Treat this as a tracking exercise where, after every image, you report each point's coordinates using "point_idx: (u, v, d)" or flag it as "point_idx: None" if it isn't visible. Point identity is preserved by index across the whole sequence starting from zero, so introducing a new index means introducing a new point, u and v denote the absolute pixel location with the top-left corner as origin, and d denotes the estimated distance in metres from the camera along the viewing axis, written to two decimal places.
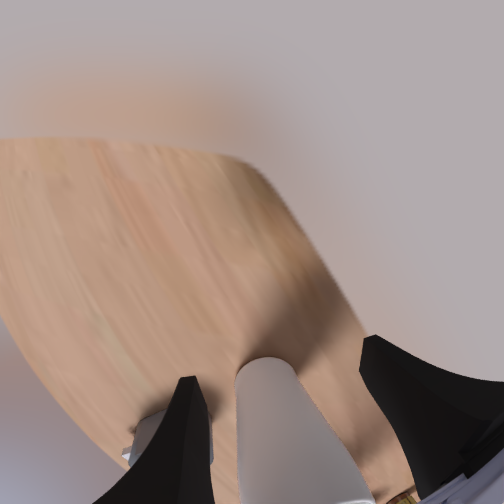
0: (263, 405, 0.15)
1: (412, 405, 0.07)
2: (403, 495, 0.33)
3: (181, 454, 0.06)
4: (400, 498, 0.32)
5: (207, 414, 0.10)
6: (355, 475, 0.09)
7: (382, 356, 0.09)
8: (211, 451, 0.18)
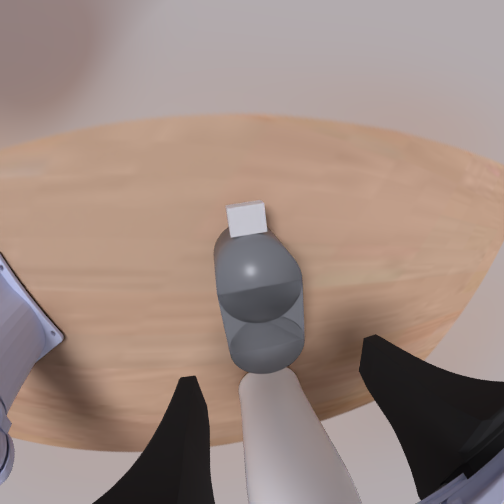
0: None
1: (412, 405, 0.07)
2: None
3: (181, 454, 0.06)
4: None
5: (207, 414, 0.10)
6: None
7: (382, 356, 0.09)
8: None
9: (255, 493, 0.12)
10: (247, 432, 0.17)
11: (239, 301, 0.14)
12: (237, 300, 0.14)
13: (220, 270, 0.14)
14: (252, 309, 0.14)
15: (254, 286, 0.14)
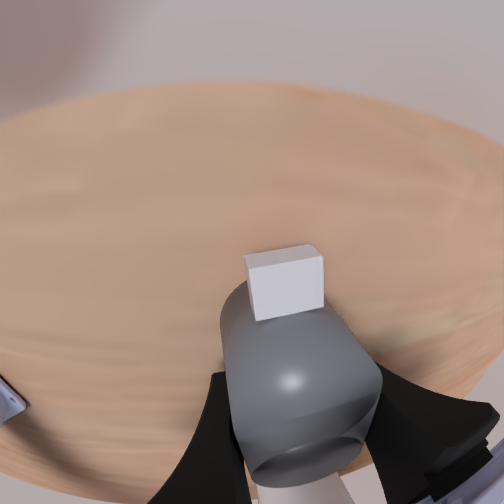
0: None
1: (380, 420, 0.07)
2: None
3: (229, 450, 0.06)
4: None
5: None
6: None
7: None
8: None
9: None
10: None
11: (273, 433, 0.07)
12: (269, 434, 0.07)
13: (239, 398, 0.06)
14: (293, 438, 0.07)
15: (301, 414, 0.07)
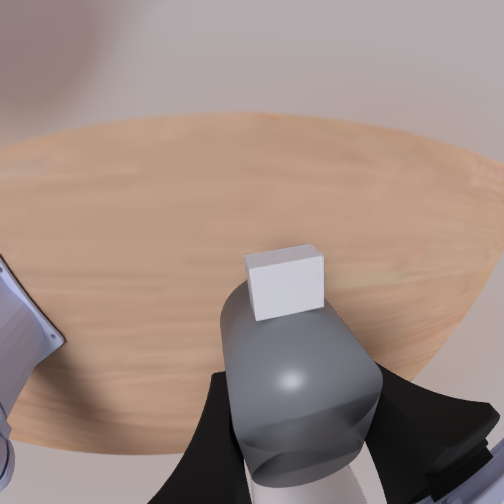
0: None
1: (380, 420, 0.07)
2: None
3: (229, 450, 0.06)
4: None
5: None
6: None
7: None
8: None
9: (261, 499, 0.11)
10: None
11: (273, 433, 0.07)
12: (269, 433, 0.07)
13: (240, 398, 0.06)
14: (293, 438, 0.07)
15: (301, 413, 0.07)
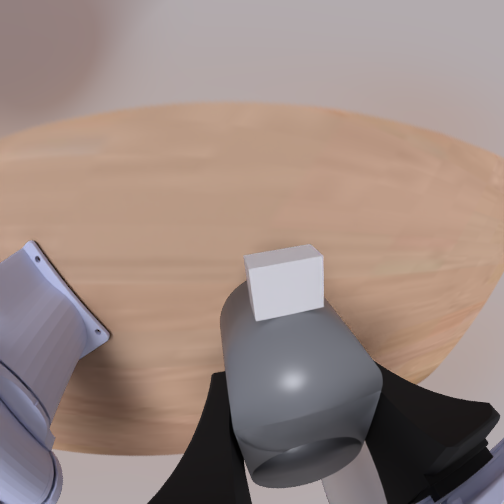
0: None
1: (380, 420, 0.07)
2: None
3: (229, 450, 0.06)
4: None
5: None
6: None
7: None
8: None
9: (338, 479, 0.12)
10: None
11: (273, 433, 0.07)
12: (269, 433, 0.07)
13: (239, 398, 0.06)
14: (293, 438, 0.07)
15: (301, 414, 0.07)
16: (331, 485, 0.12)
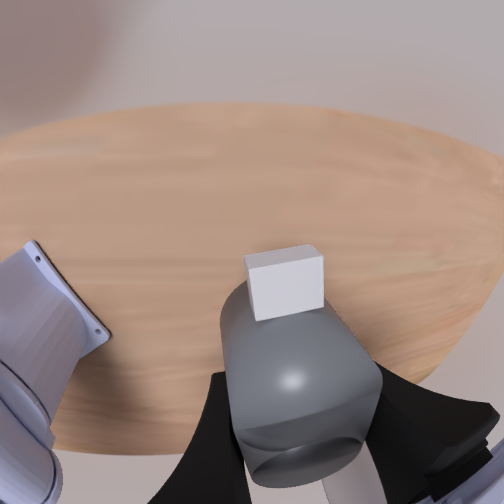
0: None
1: (380, 420, 0.07)
2: None
3: (228, 450, 0.06)
4: None
5: None
6: None
7: None
8: None
9: (338, 478, 0.12)
10: None
11: (273, 433, 0.07)
12: (269, 433, 0.07)
13: (239, 398, 0.06)
14: (293, 438, 0.07)
15: (301, 414, 0.07)
16: (331, 485, 0.12)
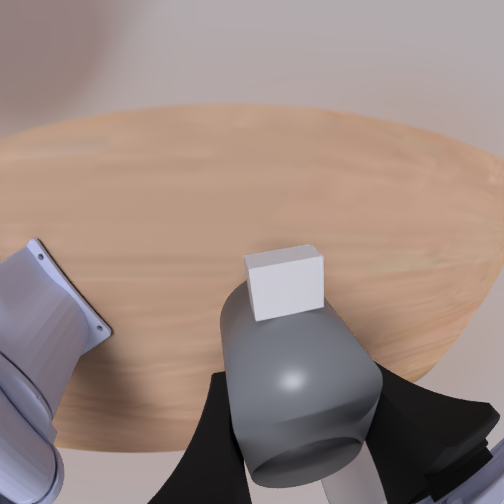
0: None
1: (380, 420, 0.07)
2: None
3: (229, 450, 0.06)
4: None
5: None
6: None
7: None
8: None
9: (336, 473, 0.12)
10: None
11: (273, 433, 0.07)
12: (269, 433, 0.07)
13: (239, 398, 0.06)
14: (293, 438, 0.07)
15: (301, 414, 0.07)
16: (329, 479, 0.12)
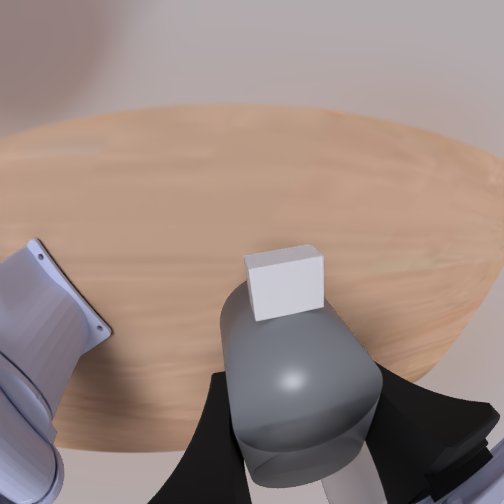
0: None
1: (380, 420, 0.07)
2: None
3: (229, 450, 0.06)
4: None
5: None
6: None
7: None
8: None
9: (336, 473, 0.12)
10: None
11: (273, 433, 0.07)
12: (269, 433, 0.07)
13: (239, 398, 0.06)
14: (293, 438, 0.07)
15: (301, 414, 0.07)
16: (329, 479, 0.12)
